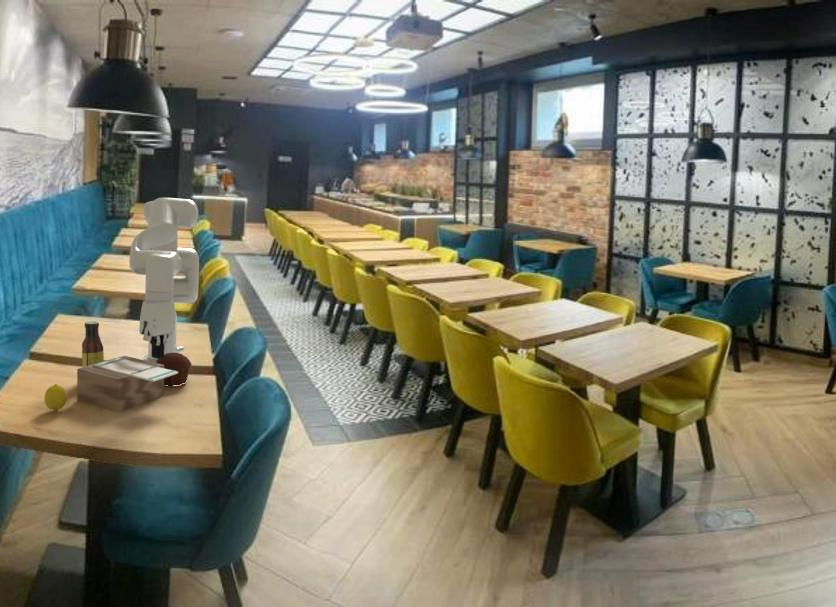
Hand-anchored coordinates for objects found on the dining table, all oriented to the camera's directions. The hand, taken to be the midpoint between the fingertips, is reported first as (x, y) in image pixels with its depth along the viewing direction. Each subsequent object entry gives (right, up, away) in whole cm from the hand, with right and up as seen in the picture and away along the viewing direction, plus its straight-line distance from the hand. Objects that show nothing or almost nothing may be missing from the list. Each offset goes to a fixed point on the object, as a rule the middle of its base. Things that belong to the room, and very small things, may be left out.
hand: (157, 357), depth 187 cm
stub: (-1, -5, +2) cm, 6 cm away
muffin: (-5, -11, +26) cm, 28 cm away
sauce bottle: (-29, -10, +19) cm, 36 cm away
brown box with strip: (-14, -13, +8) cm, 21 cm away
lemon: (-26, -15, -7) cm, 31 cm away
